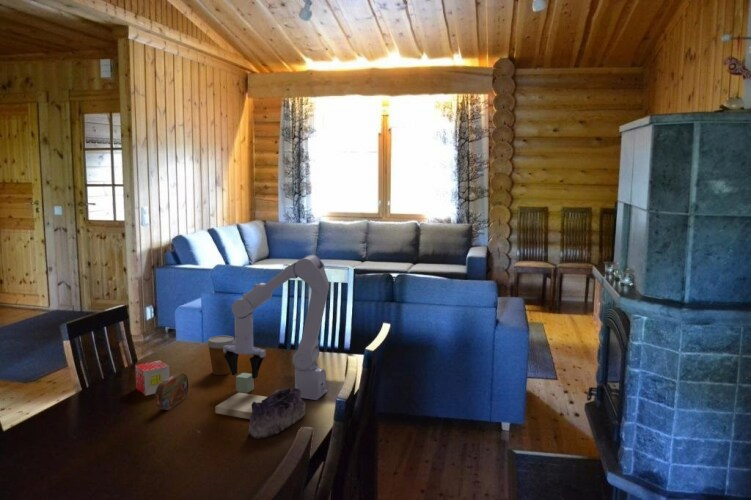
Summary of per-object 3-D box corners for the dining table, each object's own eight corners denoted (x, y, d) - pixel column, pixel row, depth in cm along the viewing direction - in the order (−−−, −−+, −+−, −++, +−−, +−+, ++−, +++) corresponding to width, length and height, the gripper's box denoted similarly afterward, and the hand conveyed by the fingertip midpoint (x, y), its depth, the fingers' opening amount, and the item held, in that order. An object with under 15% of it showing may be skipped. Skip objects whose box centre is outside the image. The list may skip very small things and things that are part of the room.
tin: (163, 414, 171) (162, 386, 170) (153, 413, 171) (152, 385, 170) (189, 395, 185) (189, 369, 184) (180, 394, 186) (179, 369, 185)
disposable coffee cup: (241, 370, 209) (240, 337, 207) (221, 378, 201) (220, 344, 199) (222, 365, 214) (221, 333, 212) (202, 373, 206) (201, 339, 204)
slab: (272, 405, 179) (272, 397, 179) (251, 421, 168) (251, 412, 168) (238, 400, 183) (238, 392, 183) (215, 414, 172) (215, 406, 172)
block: (253, 388, 192) (253, 374, 191) (247, 393, 188) (246, 378, 187) (243, 387, 193) (242, 372, 192) (236, 391, 189) (236, 376, 189)
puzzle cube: (145, 395, 185) (144, 371, 184) (136, 388, 191) (135, 365, 190) (170, 389, 190) (169, 366, 189) (160, 383, 196) (159, 360, 195)
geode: (277, 444, 153) (271, 407, 152) (240, 442, 157) (234, 406, 156) (314, 412, 171) (309, 379, 170) (280, 411, 176) (275, 379, 175)
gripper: (217, 335, 187) (218, 376, 189) (257, 340, 182) (257, 383, 184) (230, 330, 193) (230, 370, 195) (268, 334, 188) (269, 375, 190)
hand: (244, 375), depth 190 cm, fingers open, 7 cm apart
